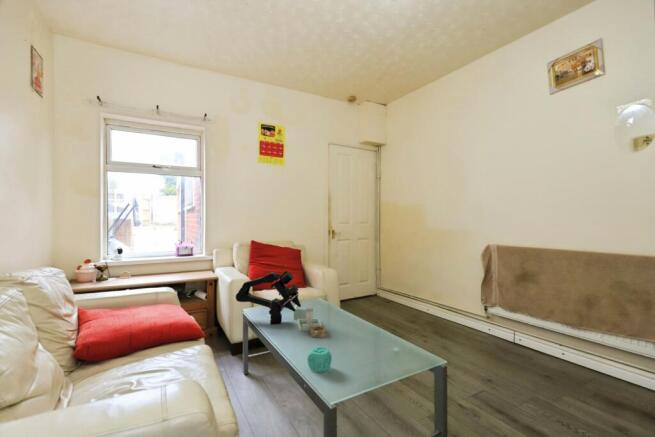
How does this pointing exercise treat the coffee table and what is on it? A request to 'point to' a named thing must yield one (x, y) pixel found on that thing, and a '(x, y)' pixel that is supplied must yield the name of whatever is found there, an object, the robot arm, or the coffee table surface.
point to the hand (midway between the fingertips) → (297, 308)
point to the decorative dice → (319, 359)
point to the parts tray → (307, 326)
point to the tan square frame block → (318, 331)
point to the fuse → (309, 316)
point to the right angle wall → (299, 313)
